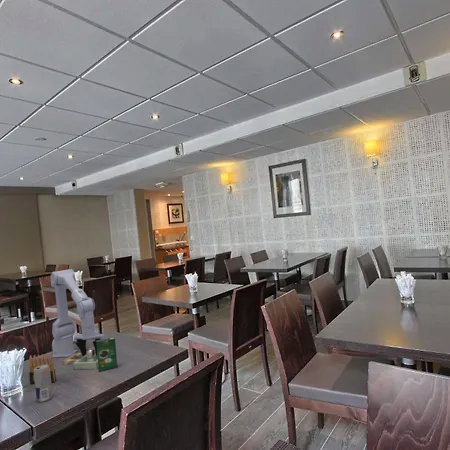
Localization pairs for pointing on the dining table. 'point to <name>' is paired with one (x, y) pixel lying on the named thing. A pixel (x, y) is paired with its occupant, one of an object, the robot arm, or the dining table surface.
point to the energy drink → (43, 383)
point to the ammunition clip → (38, 361)
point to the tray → (85, 364)
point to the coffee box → (106, 354)
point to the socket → (72, 359)
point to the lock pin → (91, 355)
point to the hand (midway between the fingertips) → (91, 355)
